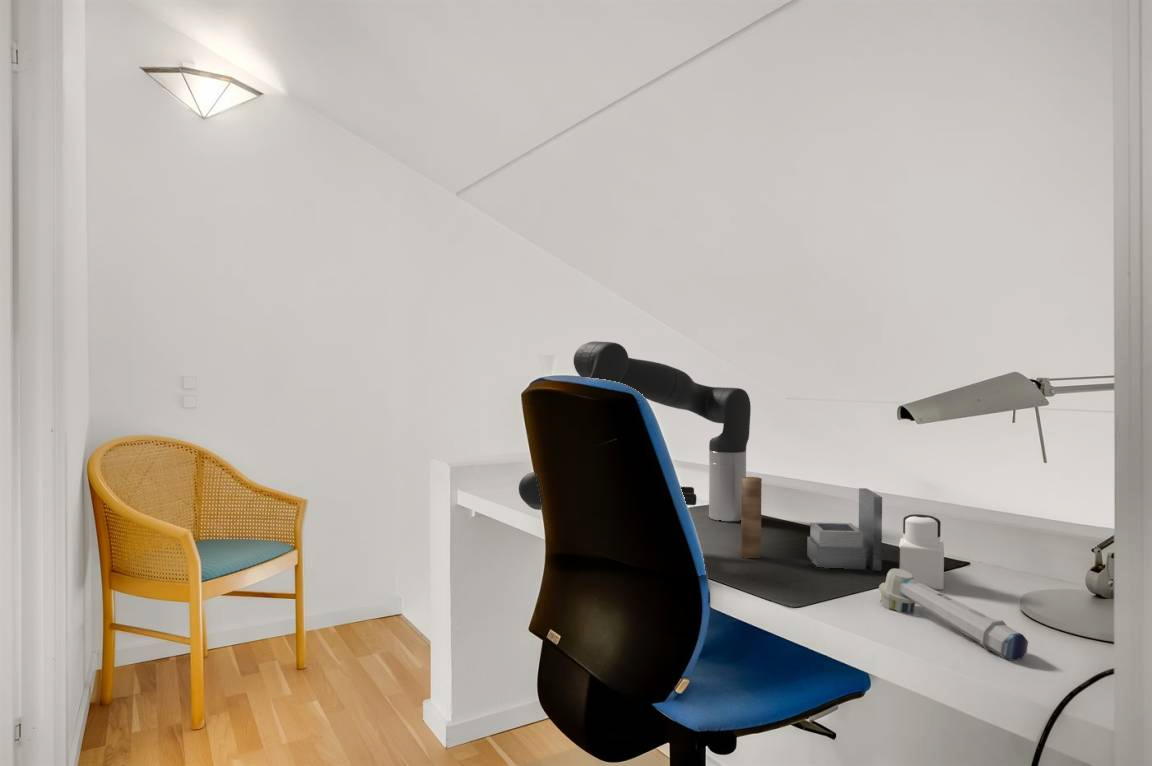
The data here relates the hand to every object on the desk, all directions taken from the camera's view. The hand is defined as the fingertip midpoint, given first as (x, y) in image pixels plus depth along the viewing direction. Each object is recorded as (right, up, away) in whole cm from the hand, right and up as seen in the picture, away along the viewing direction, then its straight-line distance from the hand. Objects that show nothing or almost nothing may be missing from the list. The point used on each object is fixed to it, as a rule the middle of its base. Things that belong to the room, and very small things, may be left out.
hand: (695, 495), depth 150 cm
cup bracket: (+28, -12, -5) cm, 31 cm away
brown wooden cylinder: (+11, -12, -1) cm, 17 cm away
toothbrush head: (+30, -14, -41) cm, 53 cm away
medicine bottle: (+38, -13, -19) cm, 44 cm away
